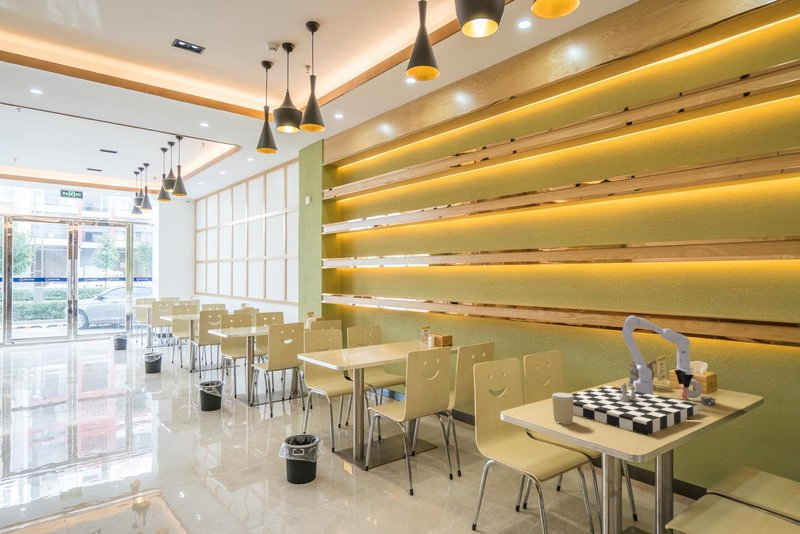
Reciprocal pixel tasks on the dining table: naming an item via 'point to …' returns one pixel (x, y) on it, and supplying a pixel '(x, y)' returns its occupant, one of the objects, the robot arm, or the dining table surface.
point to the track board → (690, 402)
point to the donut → (697, 390)
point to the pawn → (684, 393)
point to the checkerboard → (631, 408)
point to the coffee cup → (563, 407)
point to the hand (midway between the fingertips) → (683, 385)
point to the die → (708, 401)
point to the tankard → (635, 374)
